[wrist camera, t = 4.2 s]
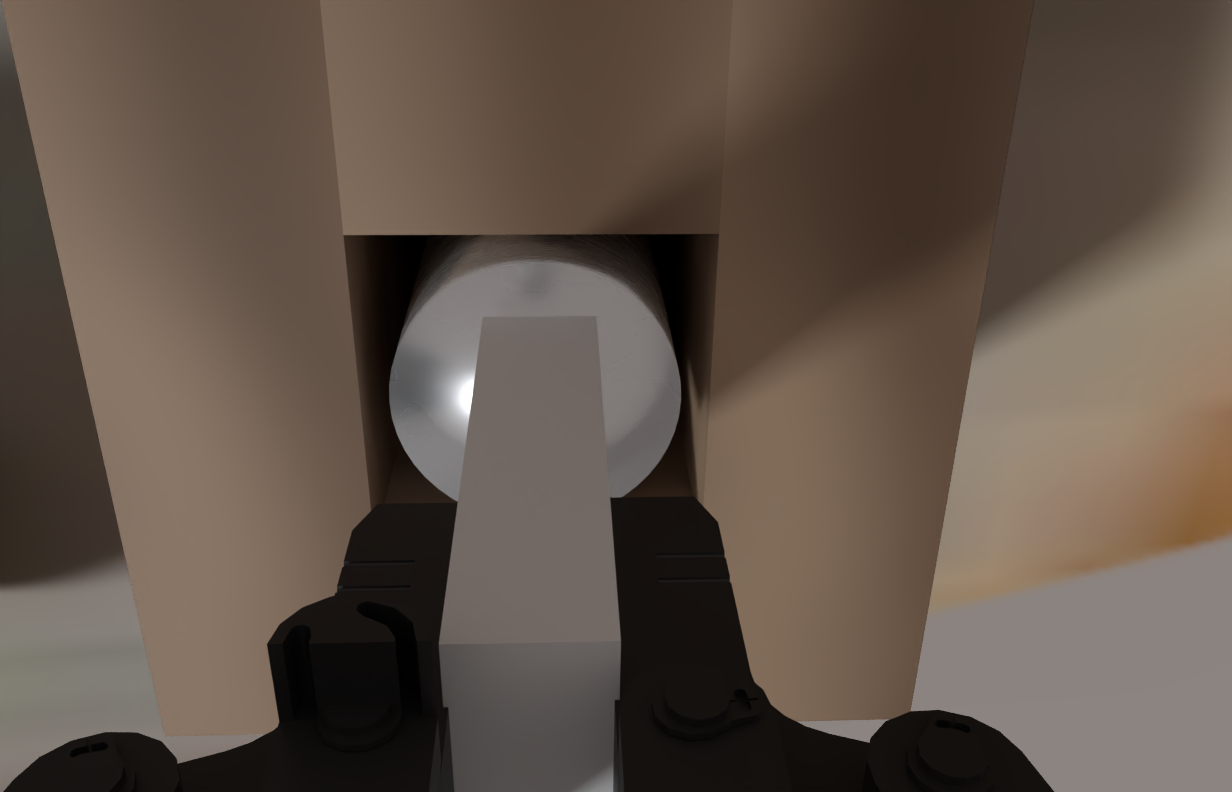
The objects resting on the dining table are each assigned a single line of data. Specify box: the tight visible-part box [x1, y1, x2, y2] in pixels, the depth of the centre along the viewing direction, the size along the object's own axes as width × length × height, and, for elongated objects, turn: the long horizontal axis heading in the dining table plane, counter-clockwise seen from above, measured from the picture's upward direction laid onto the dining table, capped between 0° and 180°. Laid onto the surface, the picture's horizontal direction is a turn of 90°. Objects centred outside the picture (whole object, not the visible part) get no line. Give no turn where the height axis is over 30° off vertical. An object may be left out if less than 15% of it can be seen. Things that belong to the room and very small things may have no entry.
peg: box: [389, 234, 681, 501], centre depth 20 cm, size 4×4×9 cm
